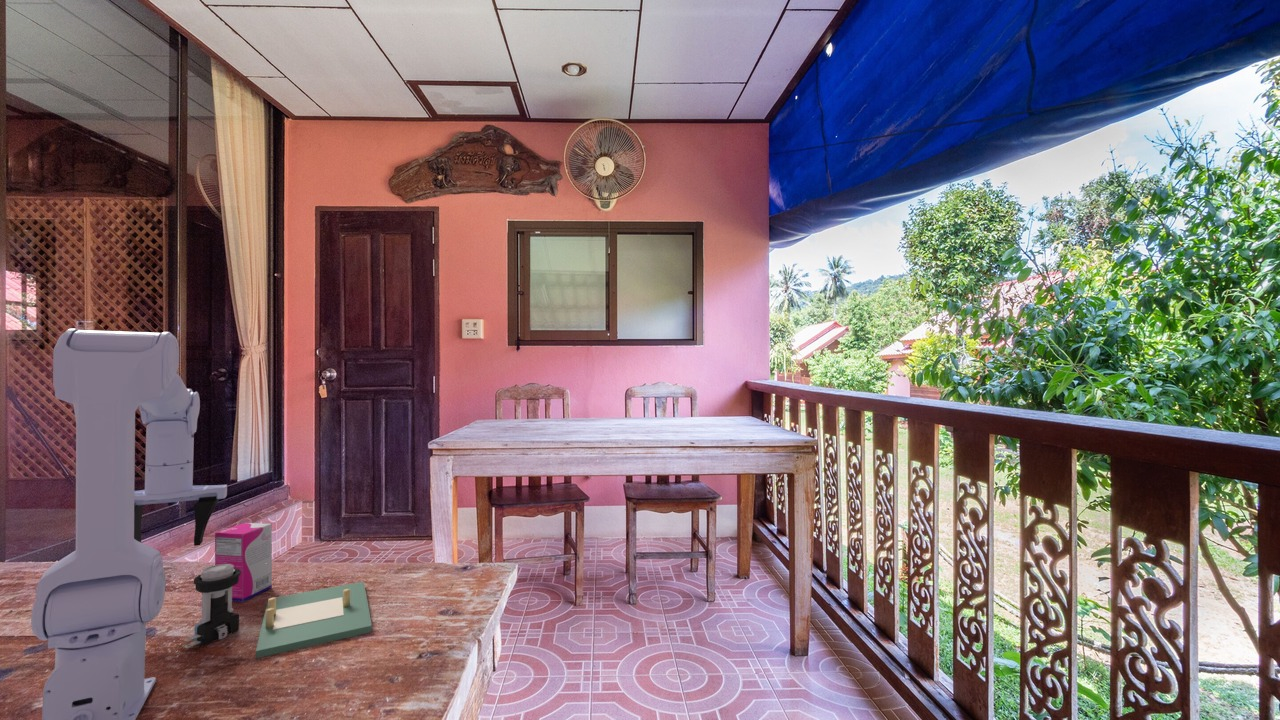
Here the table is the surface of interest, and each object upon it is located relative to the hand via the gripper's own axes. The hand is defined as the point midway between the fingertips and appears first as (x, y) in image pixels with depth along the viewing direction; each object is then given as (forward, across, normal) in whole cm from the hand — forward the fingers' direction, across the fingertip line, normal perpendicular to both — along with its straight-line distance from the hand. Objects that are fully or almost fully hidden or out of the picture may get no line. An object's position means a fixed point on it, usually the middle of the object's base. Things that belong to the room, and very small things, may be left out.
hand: (167, 547), depth 83 cm
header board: (+10, -21, +14) cm, 27 cm away
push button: (+10, -8, +14) cm, 19 cm away
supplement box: (+10, -10, -2) cm, 14 cm away
